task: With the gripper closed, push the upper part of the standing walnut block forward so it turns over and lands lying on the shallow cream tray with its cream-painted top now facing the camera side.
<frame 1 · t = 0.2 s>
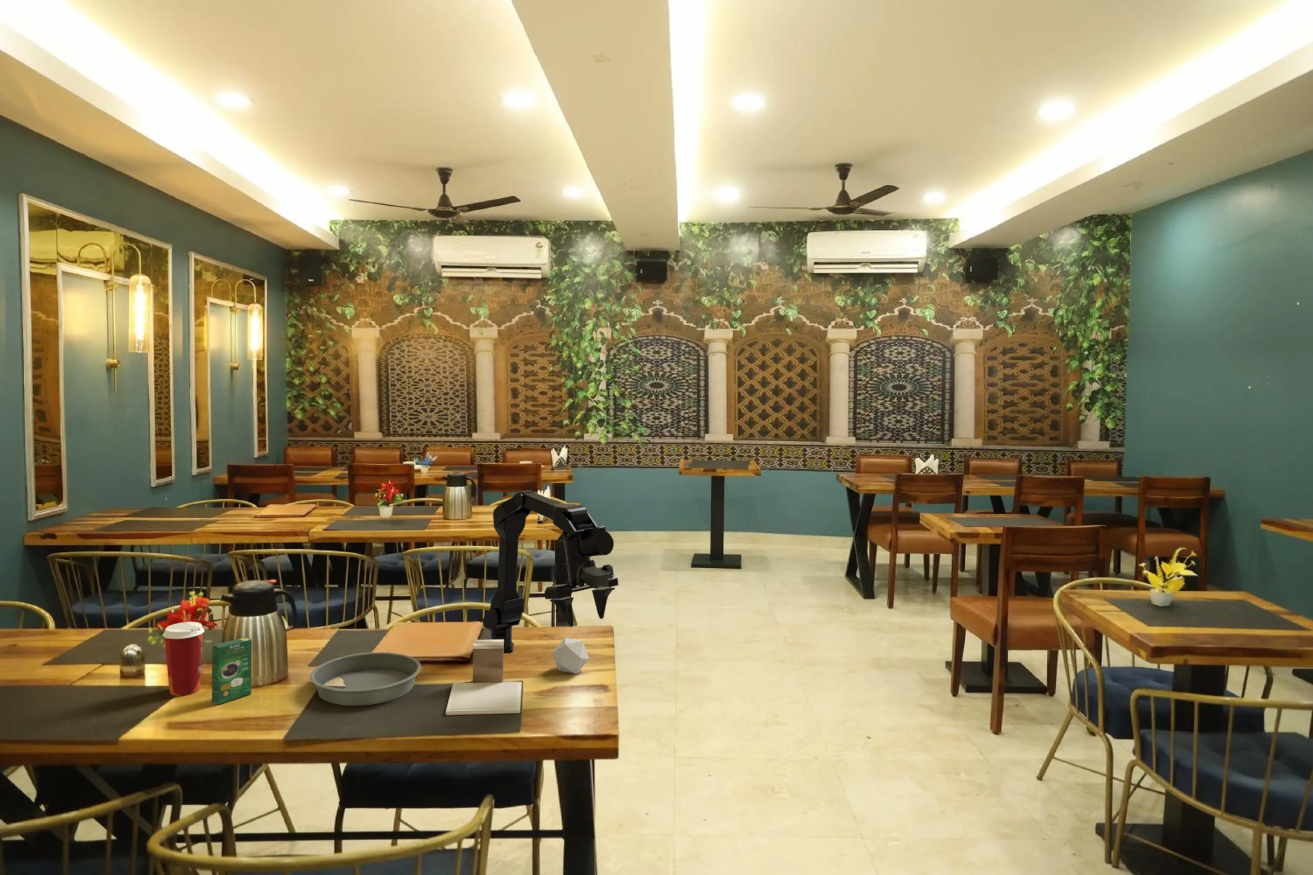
hand: (586, 622, 201), 15 cm above the table, tool pointing down, fingers open, 9 cm apart
die: (570, 671, 211), on the table
cake pan: (366, 688, 196), on the table
coffee box: (232, 699, 188), on the table
coffee cup: (184, 691, 191), on the table
walnut block: (488, 682, 201), on the table
shallow cream tray: (485, 699, 191), on the table
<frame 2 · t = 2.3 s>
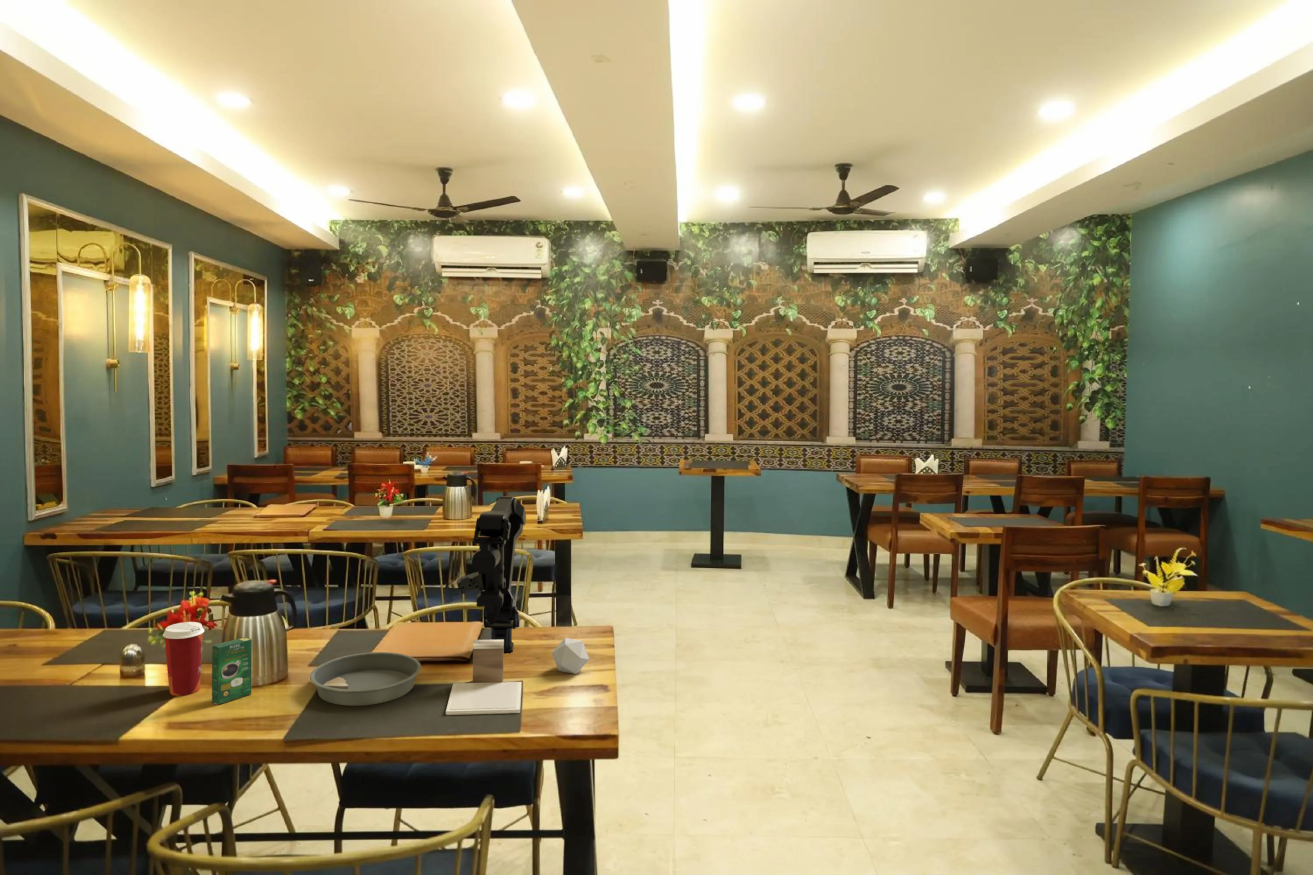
hand: (491, 624, 210), 11 cm above the table, tool pointing down, fingers closed
nothing on the table moved.
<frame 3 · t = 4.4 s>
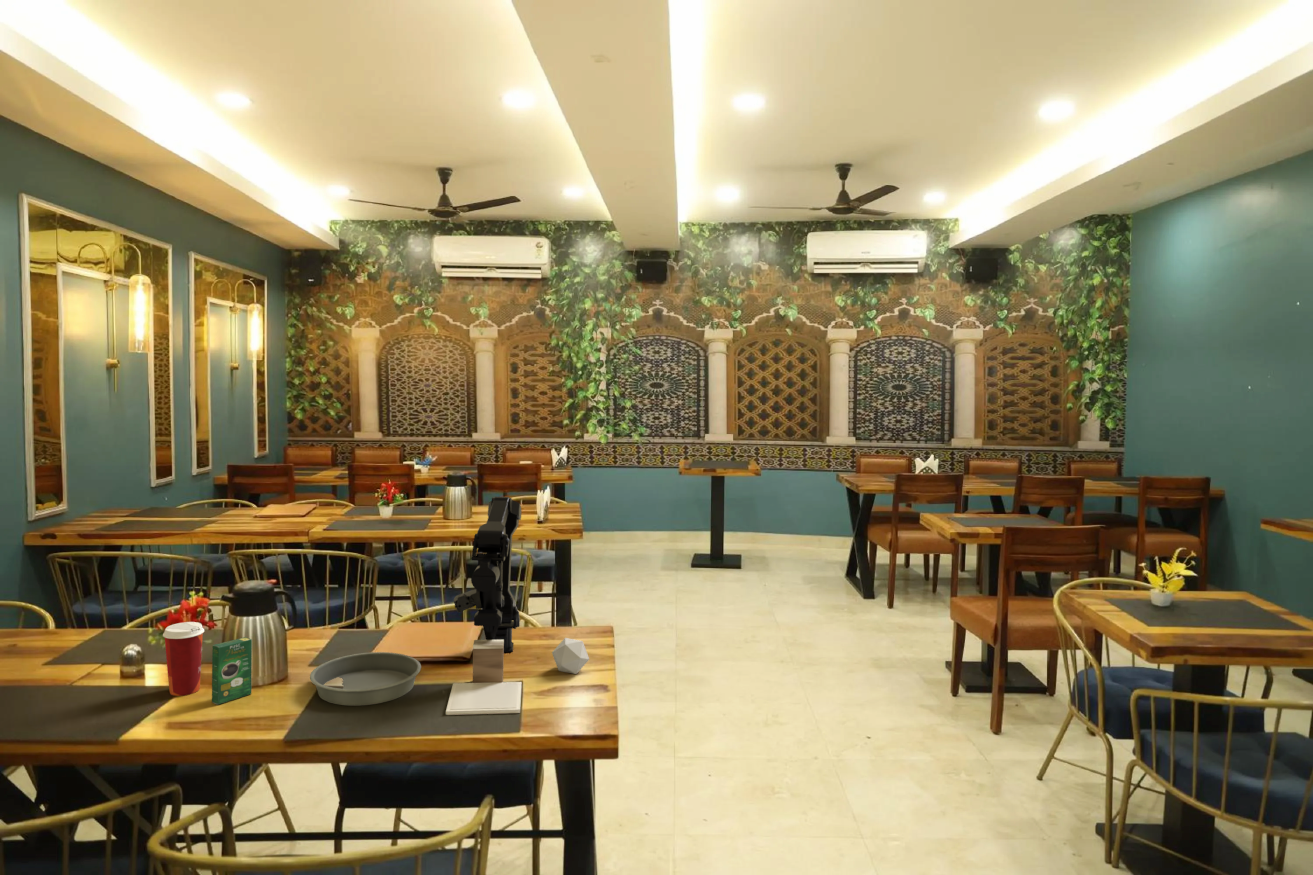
hand: (489, 643, 204), 9 cm above the table, tool pointing down, fingers closed
walnut block: (488, 682, 201), on the table, touching gripper
everything else where it was.
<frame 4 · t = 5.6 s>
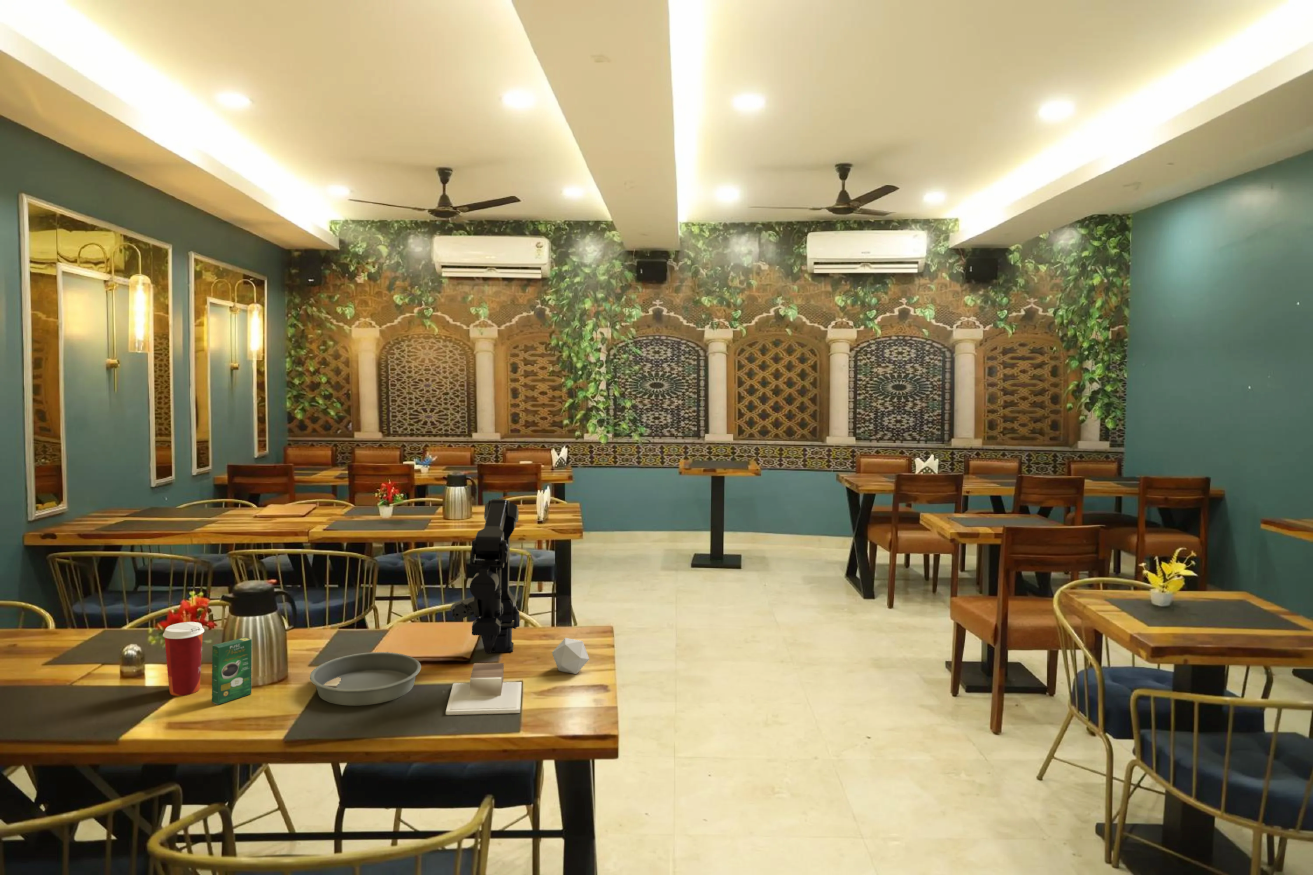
hand: (487, 652, 197), 9 cm above the table, tool pointing down, fingers closed
walnut block: (488, 671, 201), point 3 cm above the table, tilted 90°, touching shallow cream tray
everything else where it was.
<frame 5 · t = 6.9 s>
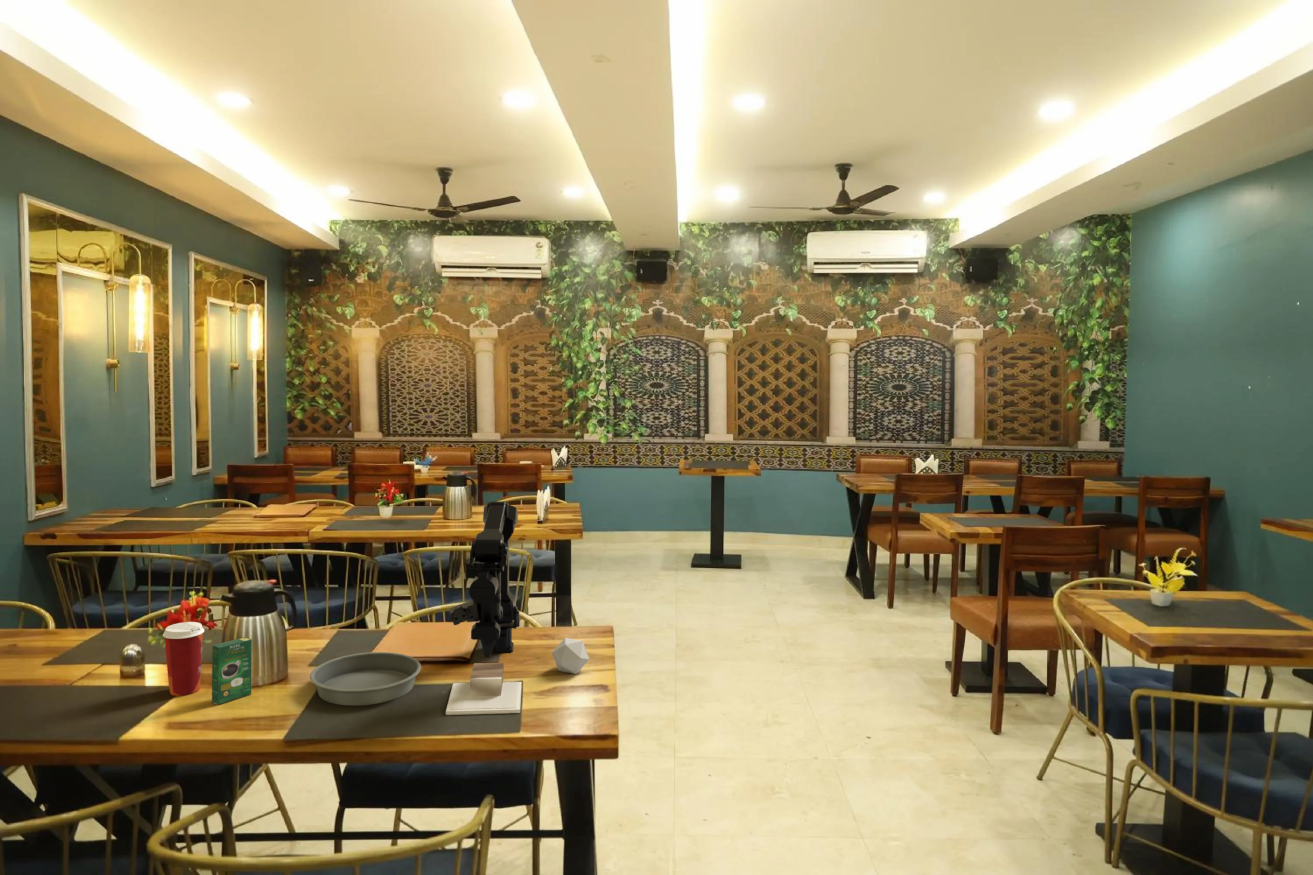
hand: (487, 657, 195), 9 cm above the table, tool pointing down, fingers closed
nothing on the table moved.
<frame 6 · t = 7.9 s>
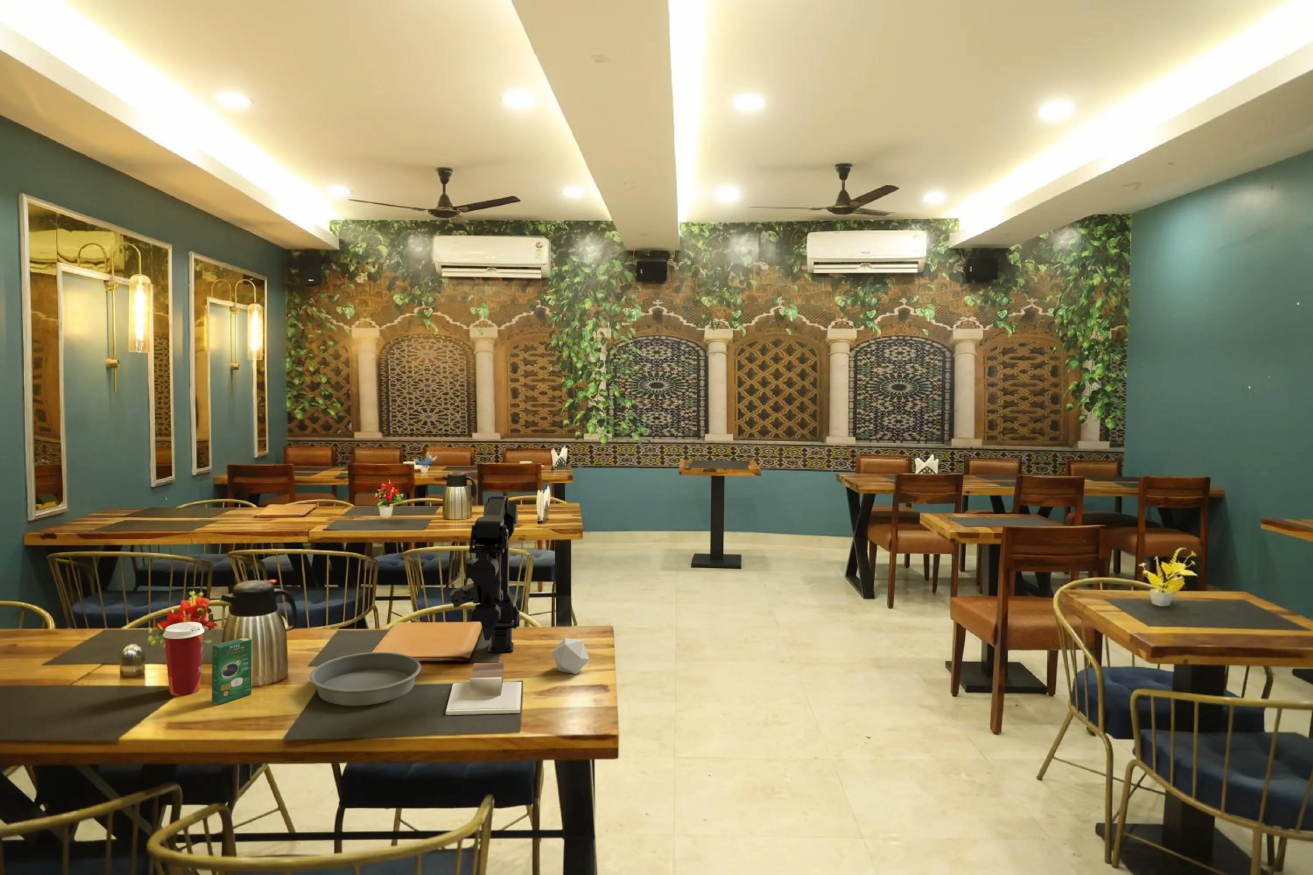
hand: (487, 639, 194), 13 cm above the table, tool pointing down, fingers closed
nothing on the table moved.
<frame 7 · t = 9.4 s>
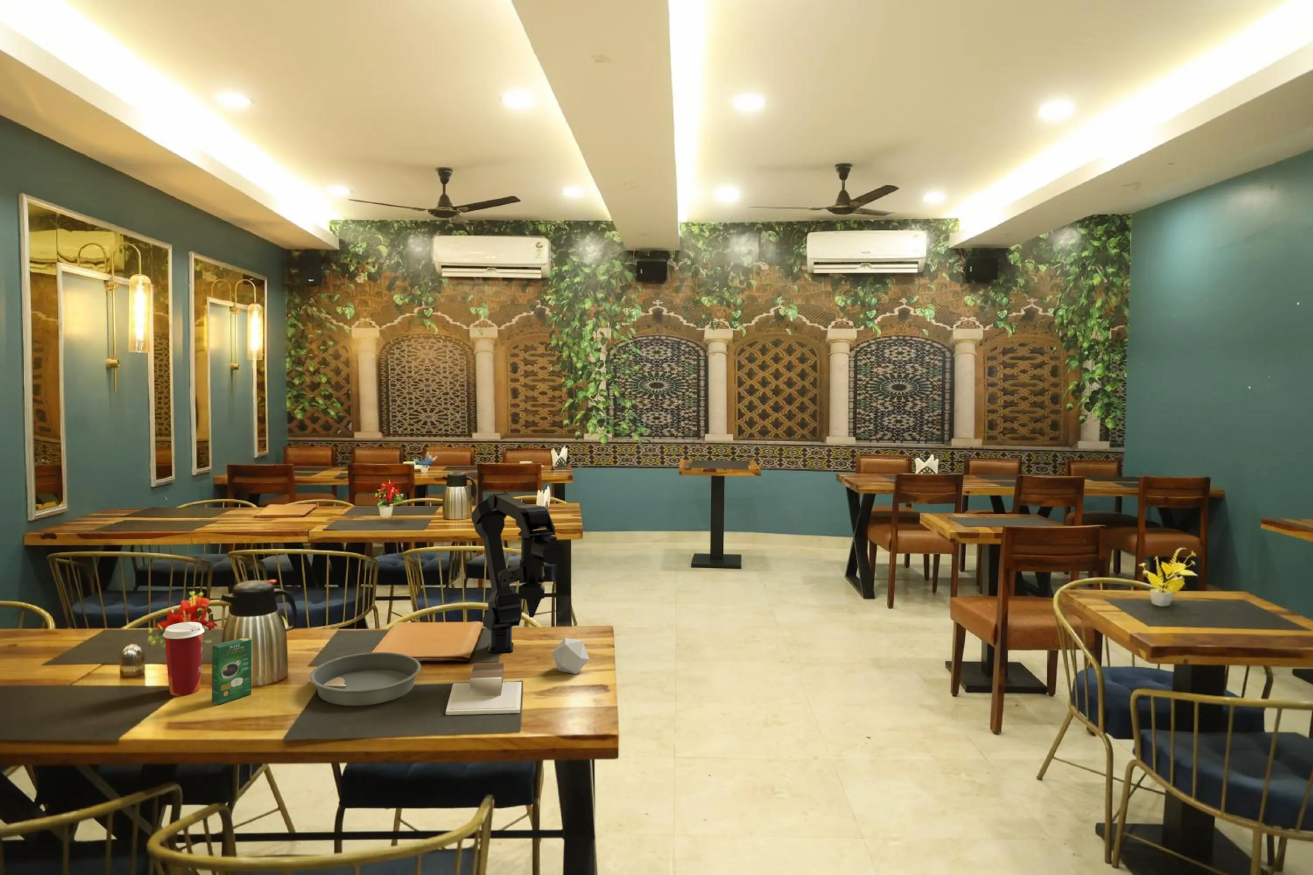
hand: (531, 616, 211), 13 cm above the table, tool pointing down, fingers closed
nothing on the table moved.
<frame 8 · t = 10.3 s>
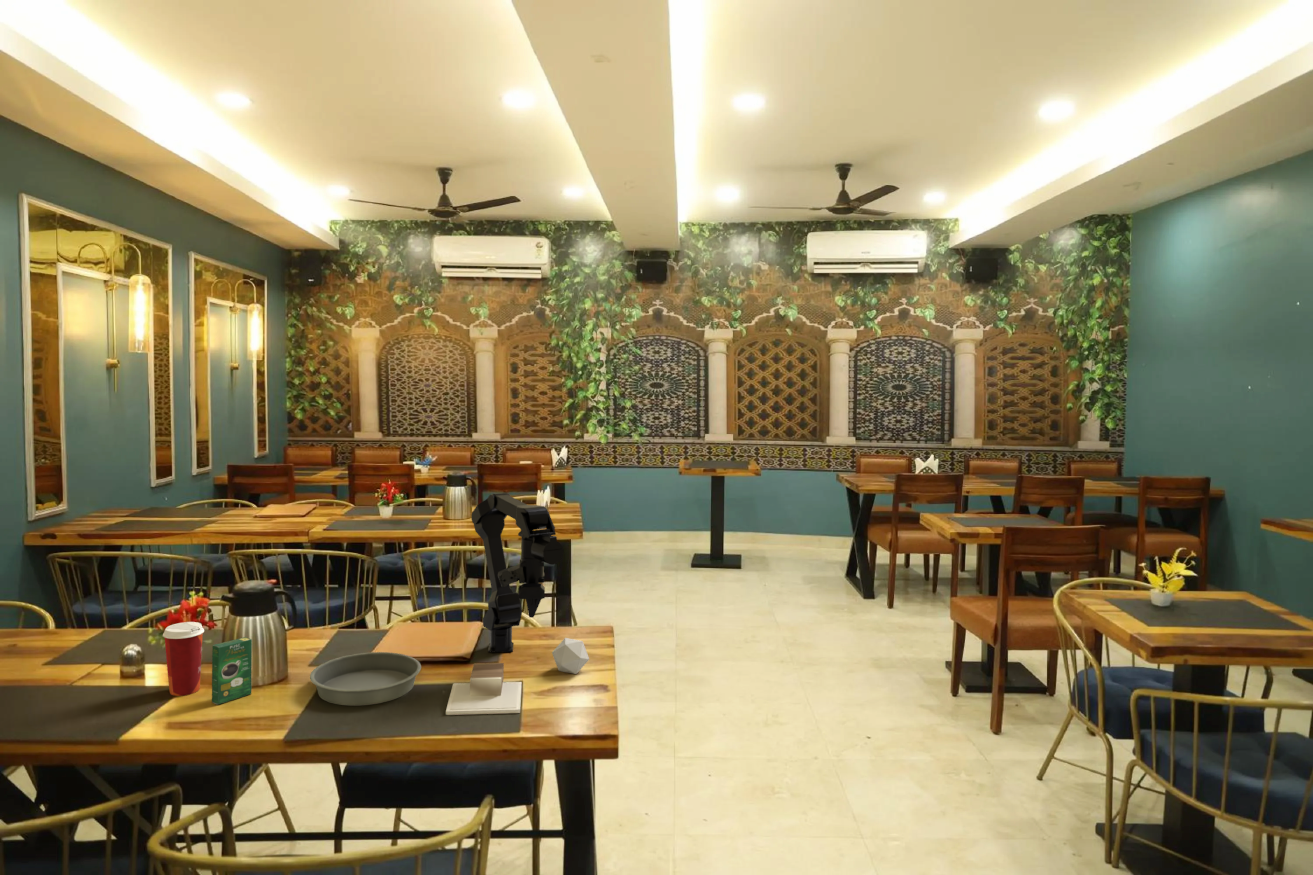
hand: (531, 616, 211), 13 cm above the table, tool pointing down, fingers closed
nothing on the table moved.
at the end: walnut block tilted 90°; walnut block inside the target area (7.9 cm from its centre), point 2.9 cm above the table; the gripper is holding nothing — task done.
